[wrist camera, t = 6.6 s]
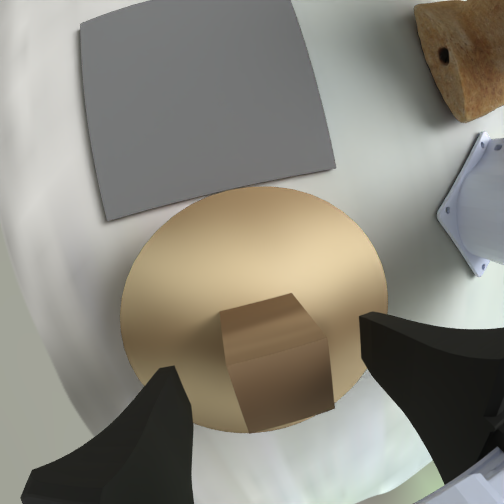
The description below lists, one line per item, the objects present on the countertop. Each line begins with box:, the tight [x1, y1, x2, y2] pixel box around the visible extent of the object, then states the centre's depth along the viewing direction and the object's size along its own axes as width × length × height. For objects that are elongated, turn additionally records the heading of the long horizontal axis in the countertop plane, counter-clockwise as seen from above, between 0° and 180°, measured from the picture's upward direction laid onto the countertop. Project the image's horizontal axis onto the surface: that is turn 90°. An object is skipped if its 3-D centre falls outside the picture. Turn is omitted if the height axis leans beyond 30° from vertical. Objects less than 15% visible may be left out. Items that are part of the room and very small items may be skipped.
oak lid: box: [120, 187, 388, 434], centre depth 11 cm, size 12×12×5 cm
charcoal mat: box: [80, 0, 336, 221], centre depth 14 cm, size 13×13×1 cm
